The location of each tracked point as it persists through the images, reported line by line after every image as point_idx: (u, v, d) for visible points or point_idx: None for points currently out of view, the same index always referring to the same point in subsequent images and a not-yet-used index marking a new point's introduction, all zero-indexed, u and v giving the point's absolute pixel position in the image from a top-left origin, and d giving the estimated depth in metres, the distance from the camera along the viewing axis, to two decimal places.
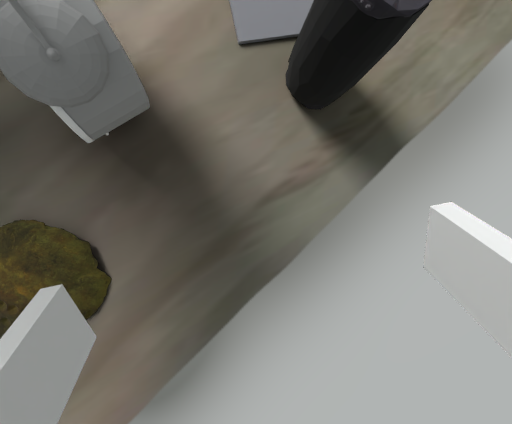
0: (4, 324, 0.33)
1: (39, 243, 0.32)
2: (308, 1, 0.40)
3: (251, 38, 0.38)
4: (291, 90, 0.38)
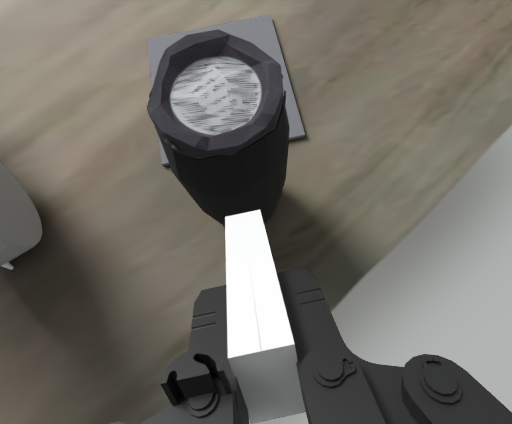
0: None
1: None
2: None
3: None
4: None
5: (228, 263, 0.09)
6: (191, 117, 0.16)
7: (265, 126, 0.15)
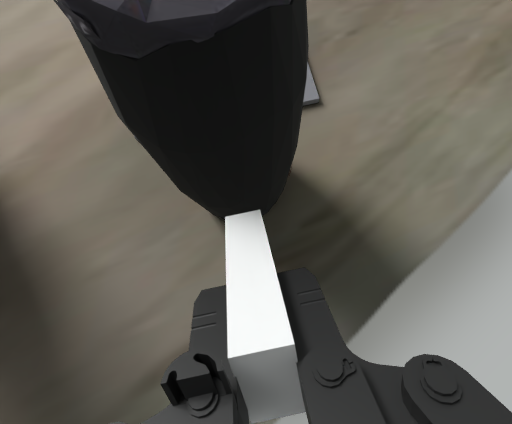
0: None
1: None
2: None
3: None
4: None
5: (228, 263, 0.09)
6: None
7: None
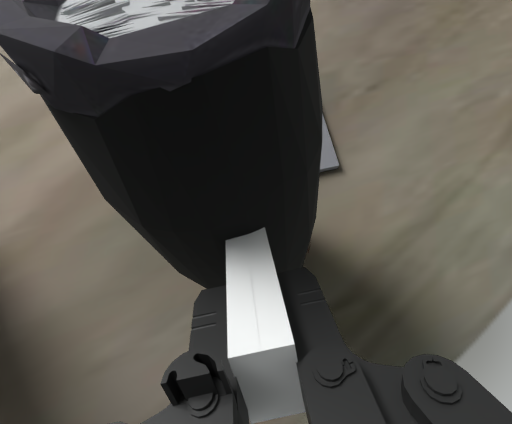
0: None
1: None
2: None
3: None
4: None
5: (228, 263, 0.09)
6: (92, 27, 0.07)
7: (266, 3, 0.05)
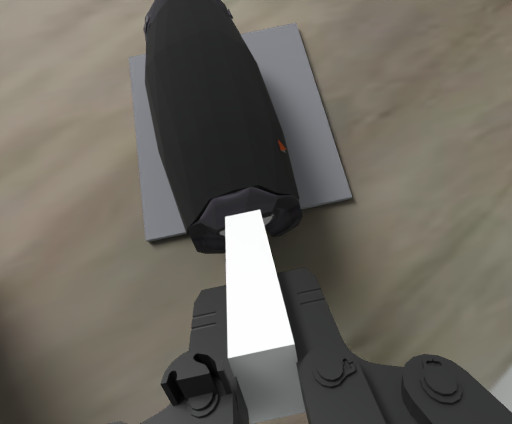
0: None
1: None
2: None
3: (165, 233, 0.25)
4: (183, 222, 0.19)
5: (228, 263, 0.09)
6: None
7: None
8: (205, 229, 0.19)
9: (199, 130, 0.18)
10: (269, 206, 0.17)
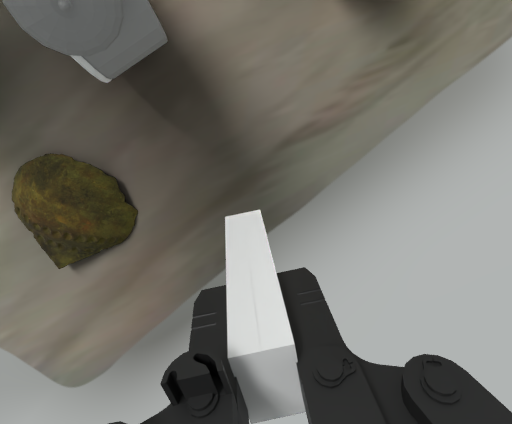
0: (50, 245, 0.38)
1: (71, 177, 0.35)
2: None
3: None
4: None
5: (228, 263, 0.09)
6: None
7: None
8: None
9: None
10: None
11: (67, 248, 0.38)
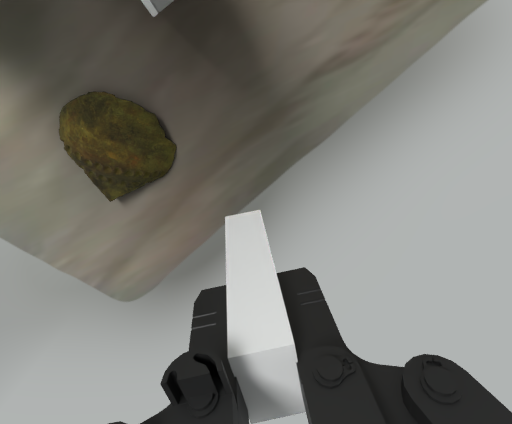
0: (101, 180, 0.42)
1: (116, 115, 0.37)
2: None
3: None
4: None
5: (228, 263, 0.09)
6: None
7: None
8: None
9: None
10: None
11: (116, 182, 0.42)
